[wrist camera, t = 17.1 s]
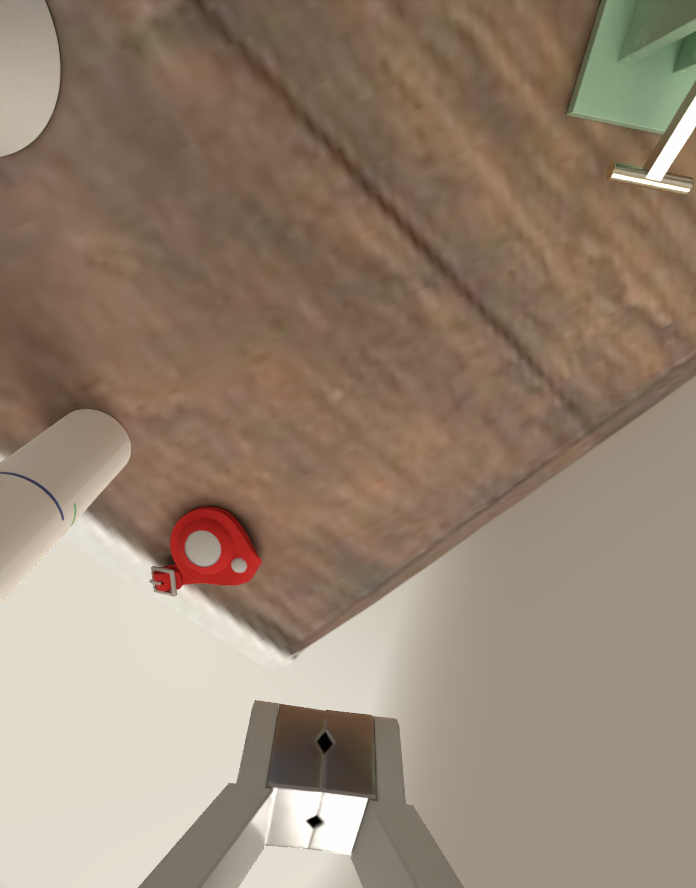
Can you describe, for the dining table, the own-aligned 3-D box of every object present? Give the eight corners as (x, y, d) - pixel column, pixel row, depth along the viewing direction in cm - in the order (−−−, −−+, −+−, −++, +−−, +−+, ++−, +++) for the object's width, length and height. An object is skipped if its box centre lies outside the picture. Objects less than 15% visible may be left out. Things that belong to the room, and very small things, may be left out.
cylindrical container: (117, 404, 47) (-100, 585, 25) (140, 470, 50) (-35, 685, 28) (46, 413, 48) (-233, 598, 25) (72, 478, 51) (-155, 695, 28)
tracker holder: (183, 493, 50) (269, 545, 50) (201, 484, 54) (280, 531, 54) (132, 592, 52) (214, 641, 52) (153, 575, 56) (229, 621, 56)
